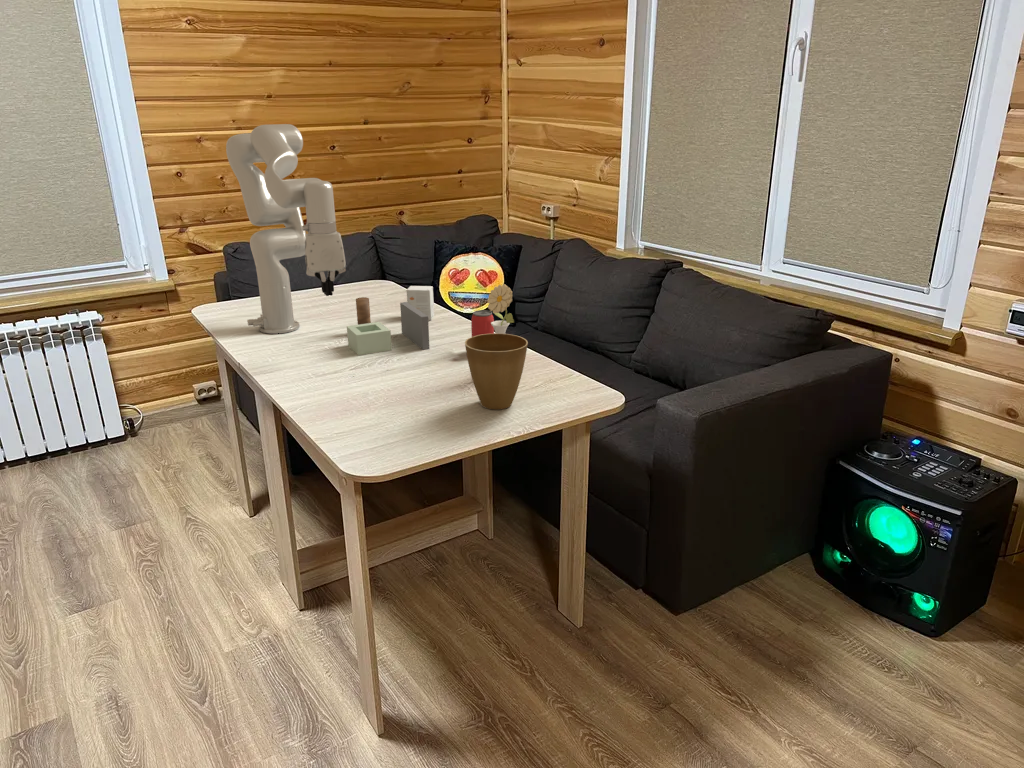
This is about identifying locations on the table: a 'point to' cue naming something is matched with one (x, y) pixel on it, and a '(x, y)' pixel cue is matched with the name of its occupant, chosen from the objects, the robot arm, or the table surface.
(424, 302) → the small box
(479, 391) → the plant pot
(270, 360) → the table surface
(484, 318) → the beer can
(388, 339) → the sage block
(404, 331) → the board
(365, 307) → the walnut dowel
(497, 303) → the flower in vase
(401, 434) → the table surface
